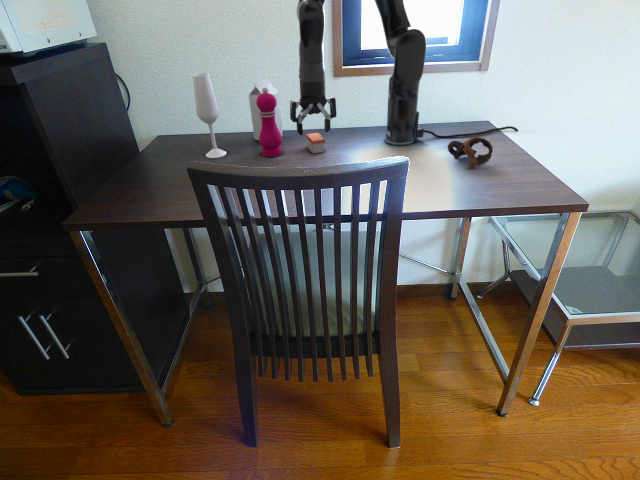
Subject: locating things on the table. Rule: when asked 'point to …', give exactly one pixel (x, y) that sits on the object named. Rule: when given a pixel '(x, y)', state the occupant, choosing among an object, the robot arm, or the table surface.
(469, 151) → the brown looped ring
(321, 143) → the sushi
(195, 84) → the champagne flute
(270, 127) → the pepper mill
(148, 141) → the table surface
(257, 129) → the milk carton
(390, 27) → the robot arm
